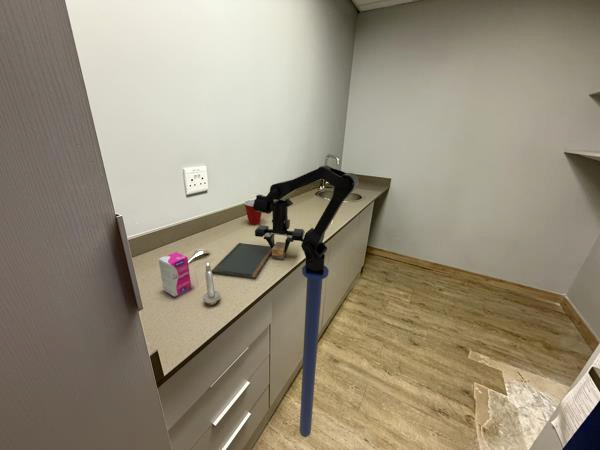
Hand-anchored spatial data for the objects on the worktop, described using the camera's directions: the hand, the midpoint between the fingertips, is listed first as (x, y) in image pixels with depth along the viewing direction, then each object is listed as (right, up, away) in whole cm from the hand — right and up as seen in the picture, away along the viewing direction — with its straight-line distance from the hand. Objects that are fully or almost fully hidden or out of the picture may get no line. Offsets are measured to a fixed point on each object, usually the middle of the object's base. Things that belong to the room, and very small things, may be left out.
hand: (279, 252), depth 97 cm
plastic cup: (-17, +12, +36) cm, 41 cm away
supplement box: (-30, -9, -22) cm, 38 cm away
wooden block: (0, -1, 0) cm, 1 cm away
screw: (-17, -12, -27) cm, 34 cm away
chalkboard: (-13, -3, -3) cm, 14 cm away
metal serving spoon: (-34, -4, -7) cm, 35 cm away
